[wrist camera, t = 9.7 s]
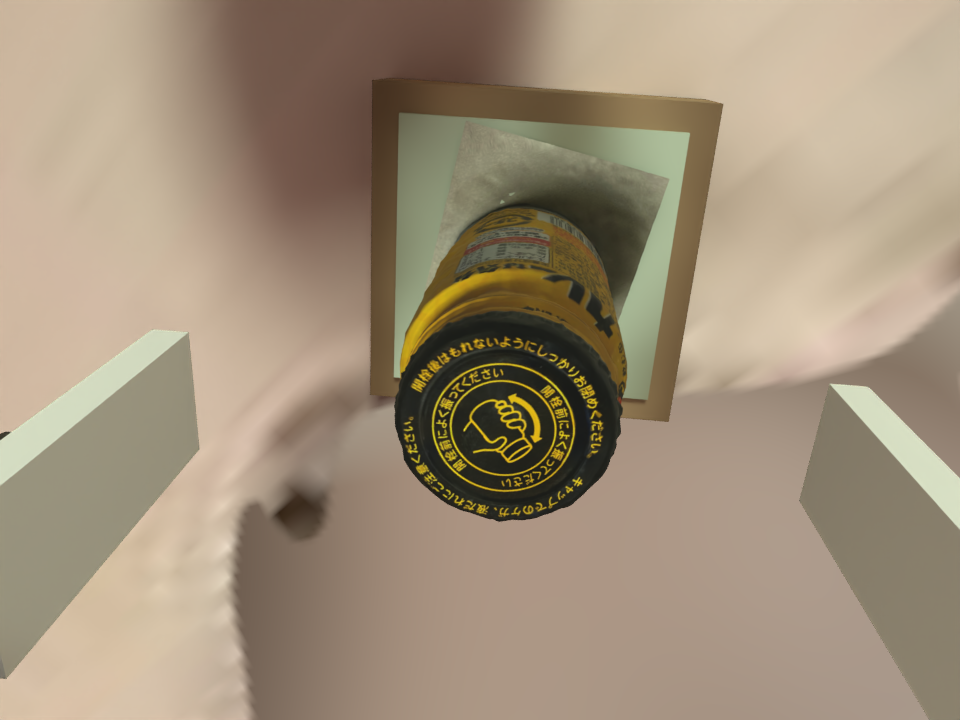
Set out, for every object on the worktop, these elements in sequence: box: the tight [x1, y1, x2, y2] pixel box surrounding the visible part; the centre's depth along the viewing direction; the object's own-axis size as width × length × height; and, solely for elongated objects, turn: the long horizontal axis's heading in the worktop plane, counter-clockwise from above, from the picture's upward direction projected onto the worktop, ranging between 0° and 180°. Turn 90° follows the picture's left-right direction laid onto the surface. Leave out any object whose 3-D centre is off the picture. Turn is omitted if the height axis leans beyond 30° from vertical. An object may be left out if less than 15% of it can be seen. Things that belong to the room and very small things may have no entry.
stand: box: [370, 78, 723, 422], centre depth 29 cm, size 12×12×3 cm
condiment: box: [394, 121, 669, 522], centre depth 22 cm, size 7×8×12 cm
